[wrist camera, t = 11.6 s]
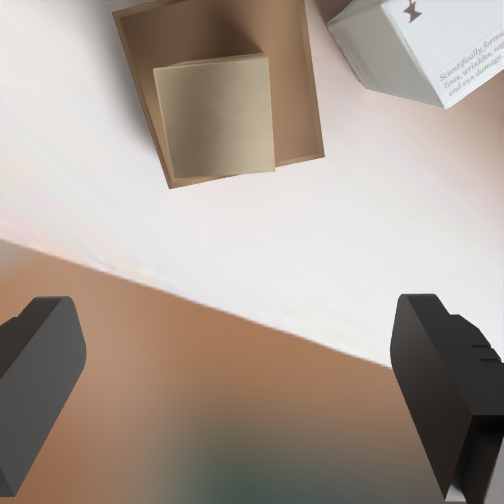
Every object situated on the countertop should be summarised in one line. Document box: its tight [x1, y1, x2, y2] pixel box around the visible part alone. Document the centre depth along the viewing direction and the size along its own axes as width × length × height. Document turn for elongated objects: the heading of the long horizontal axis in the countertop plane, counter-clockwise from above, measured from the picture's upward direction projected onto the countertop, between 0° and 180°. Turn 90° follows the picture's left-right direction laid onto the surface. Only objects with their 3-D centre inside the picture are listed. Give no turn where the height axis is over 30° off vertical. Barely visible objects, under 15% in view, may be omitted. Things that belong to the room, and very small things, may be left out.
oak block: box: [153, 53, 275, 180], centre depth 24 cm, size 5×5×10 cm
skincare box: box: [326, 0, 504, 109], centre depth 23 cm, size 8×6×15 cm
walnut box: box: [112, 0, 325, 189], centre depth 30 cm, size 12×12×5 cm
